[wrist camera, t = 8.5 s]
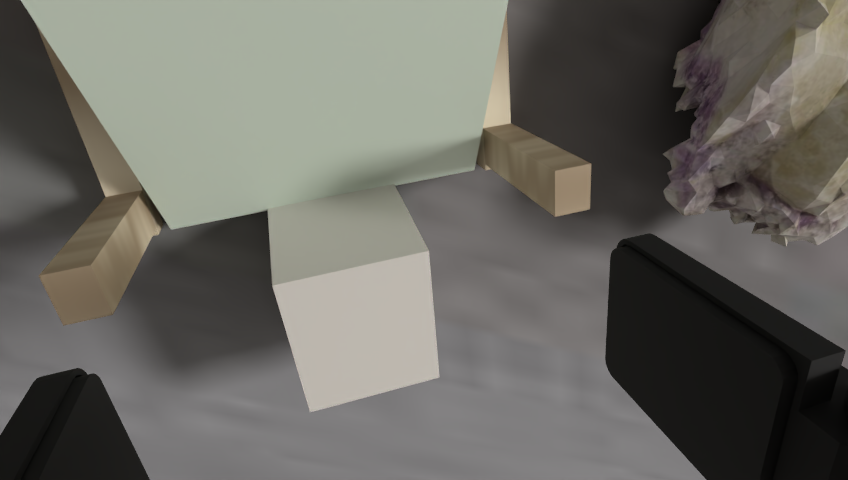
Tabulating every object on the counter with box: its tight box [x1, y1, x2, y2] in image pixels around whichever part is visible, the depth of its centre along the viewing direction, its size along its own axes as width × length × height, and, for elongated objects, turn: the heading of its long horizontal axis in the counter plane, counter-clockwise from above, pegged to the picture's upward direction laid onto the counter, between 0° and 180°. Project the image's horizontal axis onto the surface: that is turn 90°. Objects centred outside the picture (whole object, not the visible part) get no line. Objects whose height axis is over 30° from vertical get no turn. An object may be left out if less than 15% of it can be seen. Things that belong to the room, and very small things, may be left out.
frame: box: [36, 9, 591, 326], centre depth 15 cm, size 13×15×9 cm
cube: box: [268, 184, 439, 412], centre depth 20 cm, size 5×5×6 cm
